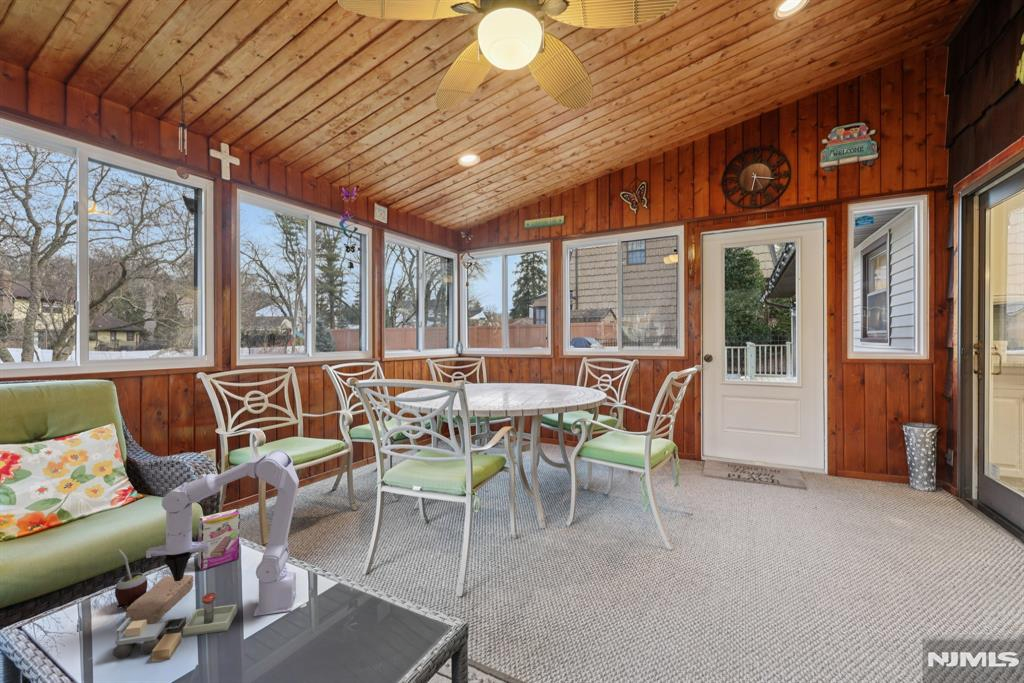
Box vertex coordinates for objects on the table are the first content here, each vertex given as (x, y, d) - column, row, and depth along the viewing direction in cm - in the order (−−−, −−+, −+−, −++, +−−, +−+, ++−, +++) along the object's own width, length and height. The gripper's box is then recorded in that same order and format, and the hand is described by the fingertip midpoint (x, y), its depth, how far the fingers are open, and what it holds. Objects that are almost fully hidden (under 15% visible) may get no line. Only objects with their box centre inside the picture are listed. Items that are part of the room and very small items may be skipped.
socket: (186, 623, 119) (186, 617, 119) (179, 634, 115) (179, 627, 115) (167, 626, 118) (167, 619, 118) (160, 636, 114) (160, 630, 114)
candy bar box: (201, 571, 144) (201, 521, 144) (197, 565, 148) (197, 517, 147) (240, 559, 152) (240, 512, 152) (235, 554, 156) (236, 508, 156)
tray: (236, 611, 125) (237, 604, 125) (227, 630, 117) (227, 622, 117) (195, 617, 122) (195, 609, 122) (183, 636, 114) (183, 628, 114)
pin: (217, 617, 121) (217, 592, 121) (213, 624, 118) (213, 598, 118) (204, 619, 120) (204, 593, 120) (200, 626, 118) (200, 600, 117)
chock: (181, 643, 112) (181, 632, 112) (169, 660, 107) (169, 648, 107) (164, 645, 112) (164, 634, 111) (151, 662, 106) (151, 651, 106)
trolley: (167, 638, 113) (167, 612, 113) (157, 653, 108) (157, 625, 108) (125, 644, 111) (125, 617, 111) (112, 659, 106) (112, 631, 106)
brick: (156, 624, 119) (156, 607, 119) (122, 625, 118) (122, 608, 118) (194, 589, 136) (194, 573, 136) (165, 589, 135) (165, 574, 135)
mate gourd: (141, 610, 125) (141, 557, 124) (105, 615, 122) (105, 561, 121) (151, 595, 131) (152, 545, 131) (118, 600, 129) (118, 549, 128)
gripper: (214, 522, 128) (214, 568, 129) (155, 527, 124) (155, 574, 125) (205, 533, 121) (204, 581, 122) (142, 538, 117) (141, 589, 118)
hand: (178, 579), depth 123 cm, fingers closed
